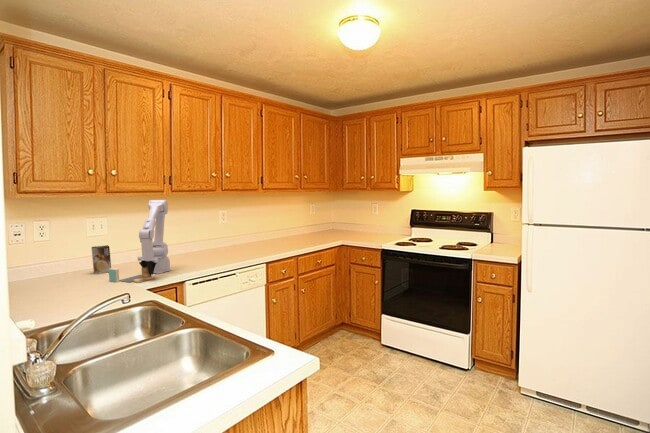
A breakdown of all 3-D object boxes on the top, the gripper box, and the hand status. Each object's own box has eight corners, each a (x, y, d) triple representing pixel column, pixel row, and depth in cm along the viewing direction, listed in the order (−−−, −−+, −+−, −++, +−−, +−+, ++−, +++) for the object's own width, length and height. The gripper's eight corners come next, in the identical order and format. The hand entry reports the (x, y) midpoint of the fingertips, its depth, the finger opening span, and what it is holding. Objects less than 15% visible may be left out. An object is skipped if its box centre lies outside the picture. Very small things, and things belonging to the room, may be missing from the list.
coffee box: (110, 270, 231) (108, 244, 229) (111, 272, 226) (109, 246, 224) (93, 272, 225) (91, 246, 224) (94, 274, 220) (92, 248, 219)
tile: (112, 280, 207) (111, 268, 206) (119, 281, 204) (118, 269, 203) (109, 281, 205) (108, 268, 204) (116, 282, 202) (115, 269, 202)
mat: (140, 275, 217) (140, 274, 217) (151, 276, 213) (151, 276, 213) (118, 281, 205) (118, 280, 205) (129, 282, 201) (129, 282, 201)
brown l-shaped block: (147, 277, 210) (146, 266, 209) (152, 278, 208) (152, 267, 208) (133, 281, 202) (132, 270, 201) (138, 282, 200) (137, 270, 199)
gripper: (132, 250, 206) (133, 274, 208) (150, 252, 200) (151, 276, 202) (143, 248, 213) (144, 271, 214) (161, 250, 207) (162, 273, 208)
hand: (148, 273), depth 208 cm, fingers closed on brown l-shaped block, 3 cm apart
